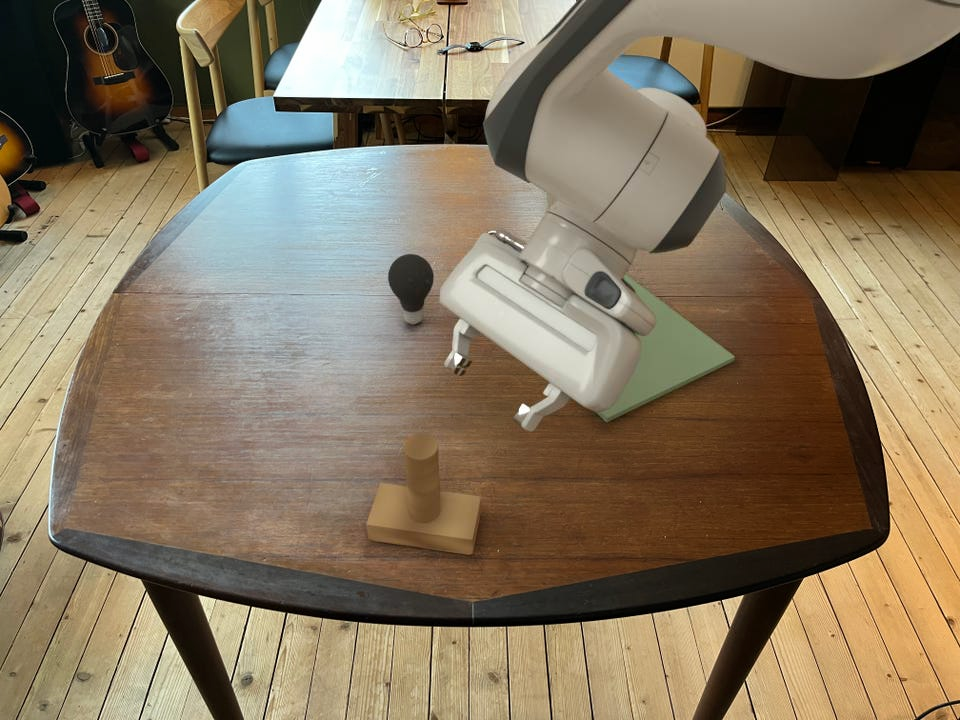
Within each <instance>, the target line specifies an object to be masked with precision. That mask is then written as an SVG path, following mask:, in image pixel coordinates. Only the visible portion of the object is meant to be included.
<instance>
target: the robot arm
mask: <svg viewBox="0 0 960 720" xmlns="http://www.w3.org/2000/svg"><path fill="white" fill-rule="evenodd" d="M959 33H960V0H576V1H575V3H574V4H573V5H572V6H571V7H570V8H569V9H568V10H567V11H566V13H565V14H564V15H563V16H562V17H561V18H560V20H559V21H558V22H556V23H555V25H554V26H553V27H552V28H551V29H550V30H549V31H548V32H547V33H546V34H545V35H544V36H543V37H542V38H541V39H540V40H539V41H538V43H537V44H536V45H535V46H534V47H532V48H531V49H529V50H528V51H527V52H525V53H524V54H522V55H521V57H519V58H518V59H517V60H516V61H515V62H514V63H513V64H512V65H511V66H510V67H509V68H508V70H507V71H506V72H505V74H504V75H503V76H502V78H501V79H500V80H499V82H498V84H497V85H496V87H495V89H494V91H493V92H492V95H491V97H490V99H489V102H488V104H487V108H486V111H485V115H484V116H485V117H484V120H483V122H482V125H483V131H484V136H485V140H486V144H487V147H488V149H489V153H490V156H491V158H492V160H493V163H494V165H495V166H496V167H498V168H500V169H502V170H504V171H505V172H508V173H509V174H511V175H513V176H515V177H516V178H518V179H520V180H522V181H524V182H526V183H528V184H532V185H534V186H535V187H537V188H538V189H540V190H542V191H543V192H544V193H546V195H547V194H549V195H550V196H552V197H554V198H555V199H557V201H556V202H555V203H554V204H553V205H552V206H551V207H550V208H548V209H546V212H545V213H544V215H543V216H542V218H541V219H540V221H539V223H538V224H537V226H536V228H535V229H534V231H533V232H532V234H531V235H530V237H529V238H528V240H527V241H525V240H524V239H522V238H519V237H517V236H514V235H513V234H512V233H511V232H510V231H508V230H506V229H505V228H497V229H491V230H487V231H486V232H483V233H482V234H481V235H479V237H478V238H477V240H476V242H475V243H474V245H473V246H472V248H471V249H470V250H469V251H468V252H467V253H466V254H465V256H463V258H461V260H460V261H459V262H458V264H457V265H456V266H455V267H454V269H453V270H452V271H451V273H450V274H449V276H448V277H447V278H446V279H445V281H444V283H443V284H442V286H441V287H440V289H439V303H440V305H442V306H443V307H444V308H446V309H447V310H448V311H450V312H451V313H453V314H454V315H455V316H457V317H458V318H459V319H458V321H457V322H456V323H455V325H454V327H453V331H452V332H453V333H452V343H451V349H452V350H451V351H450V353H449V355H448V356H447V358H446V359H445V361H444V363H443V365H444V367H445V368H446V369H448V370H449V371H450V372H451V373H452V374H454V375H457V376H459V377H462V376H464V375H465V374H466V373H467V369H468V368H470V366H471V365H472V363H473V360H472V359H470V358H469V357H468V356H469V350H470V344H471V340H474V341H475V340H477V339H478V337H479V336H480V334H481V335H483V336H485V337H486V338H488V340H490V341H492V342H493V343H494V344H495V345H497V346H498V347H500V348H502V349H503V350H504V351H505V352H506V353H508V354H509V355H511V356H512V357H513V358H515V359H516V360H518V361H519V362H521V363H522V364H523V365H525V366H526V367H527V368H529V369H531V370H532V371H533V372H535V373H536V374H537V375H538V376H540V377H541V378H543V379H545V380H546V381H547V382H548V384H547V386H546V387H545V389H544V390H543V392H542V394H543V395H544V396H546V397H545V398H543V399H541V400H540V401H538V402H537V403H535V404H533V405H532V406H531V405H528V404H526V403H521V405H520V407H519V409H518V412H517V413H516V414H515V415H514V416H513V422H515V423H516V424H517V425H518V426H520V428H523V430H525V431H527V432H531V433H532V432H533V431H535V430H536V428H537V427H538V425H539V424H540V423H541V421H542V420H543V418H544V417H546V416H548V415H550V414H552V413H554V412H556V411H559V410H560V409H562V408H564V407H566V405H567V404H568V402H569V401H570V399H572V400H573V401H575V402H576V403H577V404H579V405H581V407H583V408H585V409H588V410H589V411H592V412H595V413H596V412H602V411H605V410H608V409H610V408H611V407H613V406H614V404H615V403H616V402H617V400H618V399H619V397H620V396H621V394H622V392H623V391H624V389H625V387H626V386H627V384H628V382H629V380H630V378H631V377H632V375H633V373H634V371H635V369H636V367H637V364H638V362H639V360H640V357H641V352H642V345H641V341H640V339H639V337H638V336H637V335H636V334H638V335H640V336H647V335H648V334H649V333H650V332H651V331H652V330H653V329H654V327H655V325H656V323H657V319H656V317H655V315H654V314H653V312H652V311H651V310H650V309H649V308H648V307H647V305H646V304H645V303H644V302H643V301H642V300H641V298H640V297H639V296H638V295H637V294H636V293H635V290H634V288H633V287H632V286H631V285H630V284H629V283H628V282H626V281H625V280H624V278H625V277H624V276H625V274H626V275H627V273H628V272H629V270H630V268H631V266H632V265H633V264H634V260H635V257H636V255H637V251H642V252H646V253H648V254H650V255H651V254H663V253H668V252H673V251H677V250H681V249H684V248H688V247H689V246H690V245H691V244H692V243H693V242H694V241H695V239H696V238H697V236H698V234H699V233H700V232H701V230H702V228H703V227H704V226H705V224H706V223H707V221H708V219H709V218H710V216H711V215H712V213H713V212H714V210H715V209H716V208H717V206H718V205H719V203H720V202H721V200H722V198H723V197H724V195H725V194H726V192H727V176H726V166H725V160H724V157H723V154H722V151H721V149H719V148H718V147H717V146H716V144H714V142H713V141H712V140H710V139H709V137H707V134H708V130H707V125H706V123H705V121H704V119H703V117H702V115H701V114H700V112H699V111H698V110H697V109H696V108H695V106H693V105H692V104H691V103H690V102H688V101H687V100H686V99H684V98H682V97H681V96H680V95H677V94H675V93H673V92H671V91H669V90H666V89H662V88H660V87H641V88H638V89H636V88H634V87H633V86H631V85H630V84H628V83H627V82H625V81H624V80H623V79H621V78H619V77H618V76H616V75H615V74H614V73H613V72H612V71H611V70H609V69H608V68H609V67H610V66H611V65H612V64H613V63H614V62H615V61H616V60H617V59H619V58H620V57H621V56H622V55H623V54H624V53H625V52H626V51H627V50H628V49H630V47H632V46H633V45H634V44H635V43H637V42H638V41H641V40H643V39H647V38H656V37H666V38H676V39H681V40H688V41H692V42H695V43H700V44H705V45H708V46H712V47H714V48H720V49H722V50H725V51H729V52H731V53H734V54H737V55H739V56H742V57H745V58H748V59H750V60H753V61H755V62H758V63H760V64H763V65H765V66H769V67H771V68H774V69H776V70H778V71H781V72H786V73H789V74H793V75H798V76H803V77H808V78H816V79H827V80H849V79H861V78H867V77H872V76H875V75H879V74H883V73H886V72H889V71H891V70H894V69H897V68H899V67H901V66H903V65H906V64H909V63H911V62H912V61H914V60H916V59H919V58H920V57H922V56H924V55H926V54H927V53H929V52H931V51H933V50H935V49H936V48H937V47H940V46H941V45H943V44H944V43H946V42H947V41H949V40H950V39H952V38H953V37H955V36H956V35H958V34H959ZM493 235H494V236H493ZM635 333H636V334H635Z"/></svg>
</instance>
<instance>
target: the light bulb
mask: <svg viewBox="0 0 960 720" xmlns="http://www.w3.org/2000/svg"><path fill="white" fill-rule="evenodd" d="M434 278H435V274H434V271H433V268H432V266H431V264H430V262H428V261H427V259H426V258H424V257H423V256H421V255H419V254H414V253H406V254H404V255H400V256H398V257H397V258H396V259H395V260H394V261H393V262H392V263H391V265H390V267H389V270H388V273H387V281H388V285H389V288H390V289H391V291H392V293H393V294H394V295H395V297H396V298H397V299H398V300H399V302H400V305H401V308H402V314H403V319H404V321H405V322H406V323H408V324H411V325H416V324H418V323H420V322H422V320H423V317H424V306H425V302H426V301H425V300H426V298H427V297H428V295H429V293H430V292H431V290H432V288H433V285H434V281H435V280H434Z"/></svg>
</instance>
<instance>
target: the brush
mask: <svg viewBox="0 0 960 720" xmlns="http://www.w3.org/2000/svg"><path fill="white" fill-rule="evenodd" d="M402 450H403V462H404V475H405V484H406V485H401V484H393V483H388V482H387V483H386V482H379V485H378V487H377V491H376V494H375V497H374V500H373V503H372V506H371V508H370V512H369V514H368V517H367V521H366V523H365V524H366V525H365V526H366V531H367V532H366V533H367V538H368V540H370V541H373V542H379V543H386V544H391V545H392V544H393V545H397V546H398V545H399V546H405V547H406V546H407V547H413V548H419V549H426V550H433V551H440V552H446V553H453V554H461V555H468V556H470V555H473V554H474V549H475V545H476V539H477V534H478V530H479V523H480V520H481V519H480V518H481V514H482V496H481V495H473V494H466V493H460V492H452V491H447V490H446V491H445V490H441V485H440V483H441V482H440V460H439V443H438V441H437V439H436V438H435V437H434V436H433V435H430V434H428V433H423V432H422V433H421V432H420V433H419V432H418V433H414V434H411V435H410V436H408V437H407V438H406V439H405V440H404V442H403V445H402Z"/></svg>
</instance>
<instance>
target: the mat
mask: <svg viewBox="0 0 960 720" xmlns="http://www.w3.org/2000/svg"><path fill="white" fill-rule="evenodd" d="M624 277H625V278H624V280H625V281H626V282H628V283H629V284H630V285H631V286H632V287H633V288H634V290H635V293H636V294H637V295H638V296H639V297H640V298H641V300H642V301H643V302H644V303H645V304H646V305H647V307H648V308H649V309H650V310H651V311H652V312H653V314H654V315H655V317H656V319H657V323H656V325H655V327H654V329H653V330H652V331H651V332H650V333H649V334H648V335H647V336H640V335H638V334H636V333H635V334H636V335H637V336H638V337H639V339H640V341H641V345H642V352H641V357H640V360H639V362H638V364H637V367H636V369H635V371H634V373H633V375H632V377H631V378H630V380H629V382H628V384H627V386H626V387H625V389H624V391H623V392H622V394H621V396H620V397H619V399H618V400H617V402H616V403H615V404H614V406H613V407H611V408H610V409H608V410H605V411H602V412H595V413H596V414H597V415H598V416H599V417H600V418H601V419H602V420H603V421H604V422H605V423H609V422H610V421H612V420H615V419H617V418H619V417H621V416H623V415H625V414H627V413H629V412H633V411H634V410H636V409H638V408H640V407H642V406H644V405H647V404H648V403H650V402H653V401H655V400H656V399H658V398H660V397H662V396H664V395H667V394H669V393H671V392H673V391H675V390H678V389H679V388H682V387H683V386H685V385H687V384H690V383H692V382H694V381H695V380H698V379H700V378H702V377H704V376H707V375H708V374H710V373H713V372H715V371H717V370H719V369H721V368H723V367H725V366H727V365H729V364H731V363H733V362H734V361H735V359H736V356H735V355H733V353H731V352H730V351H728V350H727V349H726V348H725V347H723V346H722V345H720V343H718V342H716V341H715V340H714V339H713V338H711V337H710V336H708V335H707V334H706V333H704V332H703V331H702V330H700V328H698V327H696V326H695V324H693V323H691V322H690V321H688V320H687V318H685V317H683V315H681V314H679V313H678V312H677V311H675V310H674V309H673V308H672V307H670V306H669V305H668V304H666V303H665V302H664V301H662V300H661V299H660V298H658V297H657V296H655V295H654V294H653V293H651V291H649V290H647V289H646V288H645V287H644V286H643V285H641V284H640V283H638V282H637V281H636V280H635V279H633V278H632V277H631V276H629V275H627V273H626V274H625V276H624Z"/></svg>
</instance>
